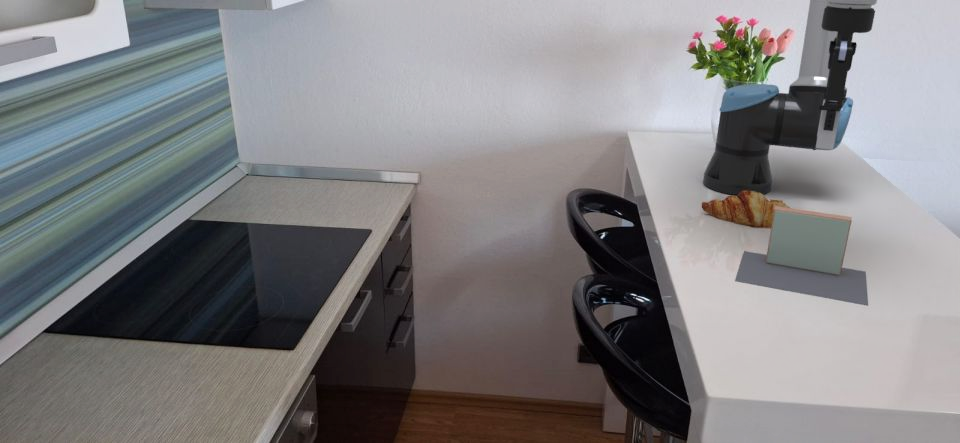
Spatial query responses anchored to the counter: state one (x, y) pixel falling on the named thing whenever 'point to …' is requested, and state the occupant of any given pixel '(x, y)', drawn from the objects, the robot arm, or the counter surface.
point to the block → (808, 240)
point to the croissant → (744, 209)
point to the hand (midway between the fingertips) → (824, 142)
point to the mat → (803, 279)
